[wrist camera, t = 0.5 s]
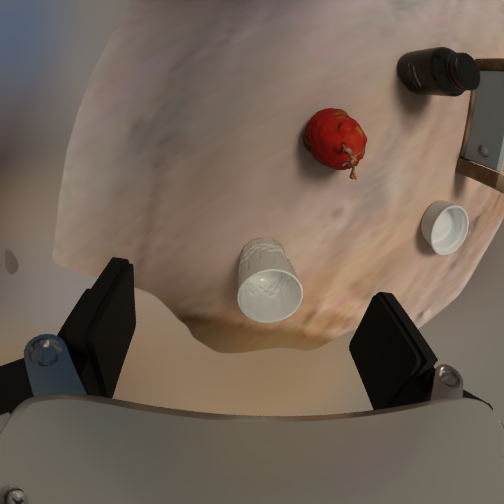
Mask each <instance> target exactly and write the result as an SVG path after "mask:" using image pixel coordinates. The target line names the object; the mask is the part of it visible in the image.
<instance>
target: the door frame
mask: <svg viewBox="0 0 504 504" xmlns="http://www.w3.org/2000/svg"><path fill="white" fill-rule="evenodd" d="M475 62H476V64H477V66H478V68H479V71H499V72H504V59H500V58H494V59H475ZM476 90H477V89H475V90H472V91H471V96H470V103H469V110H468V116H467V122H466V127H465V132H464V137H463V142H462V147H461V151H460V155H459V156H461V157H463V158H464V157H465V153H466V149H467V144H468V139H469V135H470V129H471V124H472V118H473V112H474V105H475V98H476ZM466 160H467V159H466ZM466 160H463V159H461V158H458V162H457V166H456V170H455V171H457V172H459V173H461V174H463V175H465V176H467V177H470V178H472V179H474V180H477V181H479V182H481V183H483V184H485V185H487V186H490V187H492V188H494V189H496V190H498V191H500V192H502V193H504V176H503V175H501V174H499V173H497V172H495V171H492V170H490V169H487V168H485V167H482V166H480V165H477V164H474V163H472V162H469V160H468V161H466Z"/></svg>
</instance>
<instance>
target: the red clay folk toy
mask: <svg viewBox="0 0 504 504" xmlns="http://www.w3.org/2000/svg"><path fill="white" fill-rule="evenodd" d="M303 142H304V146H305V147H306V149H307V150H308V151H310V152H311V153H312V154H313V156H314V157H315V159H316V160H317V161H319V162H320V163H321V164H323V165H325V166H328V167H330V168H333V169H337V170H346V169H350V168H352V171H351V173H350V178H351V179H355V180H356V177H357V176H356V174H355V166H357V164H358V163H359V160H360V159H362V158H363V156H364V153H365V146H366V142H367V138H366V135H365V134H364V132H363V131H362V129H361V127H360V125H359V124H358V123H357V122H356V121H355V120H354V119H352V118H351V117H349V116H348V114H347V113H346V112H345V111H343V110H341V109H334V108H328V109H323V110H321V111H319V112H317V113H316V114H315V115H313V117H312V118H311V119H310V121H309V123H308V125H307V128H306V132H305V134H304V135H303Z"/></svg>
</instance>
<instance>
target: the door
mask: <svg viewBox="0 0 504 504" xmlns="http://www.w3.org/2000/svg"><path fill="white" fill-rule="evenodd" d="M464 158H465V159H467V160H469V161H472V162H475V163H478V164H480V165H483V166H485V167H488V168H491V169H493V170H495V171H498V172H500V171H501V167H502V163H503V158H504V72H499V71H480V84H479V86H478V87H477V90H476V98H475V105H474V112H473V118H472V124H471V129H470V135H469V139H468V144H467V149H466V153H465V157H464Z"/></svg>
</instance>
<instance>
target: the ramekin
mask: <svg viewBox="0 0 504 504" xmlns="http://www.w3.org/2000/svg"><path fill="white" fill-rule="evenodd" d="M468 226H469V220H468V215H467V213H466V211H465V210H464V209H463V208H462V207H460V206H458V205H454V204H451V203H449V202H447V201H437V202H435V203H433V204H432V205H430V206H429V208H428V209H427V210H426V212H425V214H424V216H423V218H422V222H421V231H422V235H423V237H424V238H425V240H426V241H427V242H428V243H429V244H430V245H431V247H432V248H433V250H434V251H435V252H436V253H437V254H439V255H448V254H451V253H453V252H454V251H456V250H457V249H458V248H459V247H460V246H461V244H462V243H463V241H464V239H465V237H466V235H467V232H468Z"/></svg>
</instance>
